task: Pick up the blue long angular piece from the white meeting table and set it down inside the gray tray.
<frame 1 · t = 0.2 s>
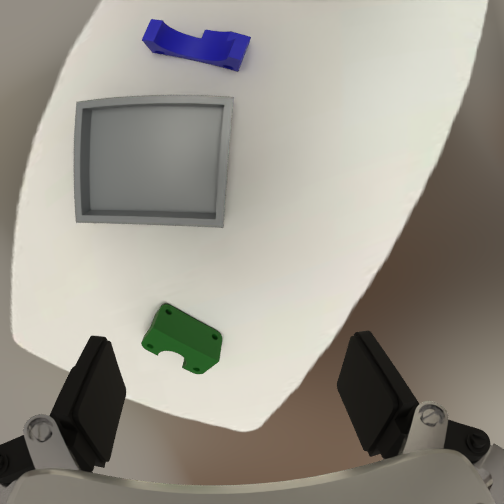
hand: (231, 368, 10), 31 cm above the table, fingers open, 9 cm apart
clamp: (183, 330, 46), on the table
gray tray: (152, 158, 36), on the table
blue long angular piece: (200, 47, 31), on the table
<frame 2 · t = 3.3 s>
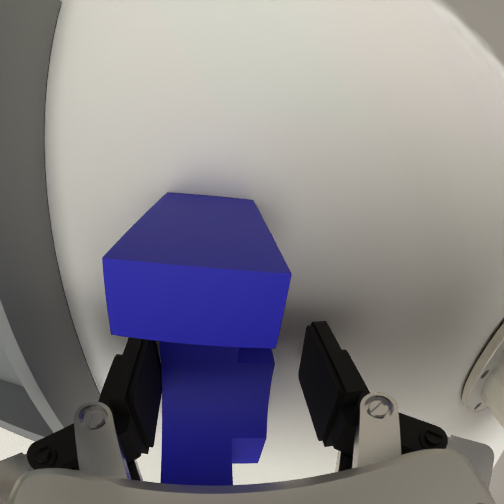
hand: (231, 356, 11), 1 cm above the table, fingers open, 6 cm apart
blue long angular piece: (217, 335, 12), on the table, touching gripper
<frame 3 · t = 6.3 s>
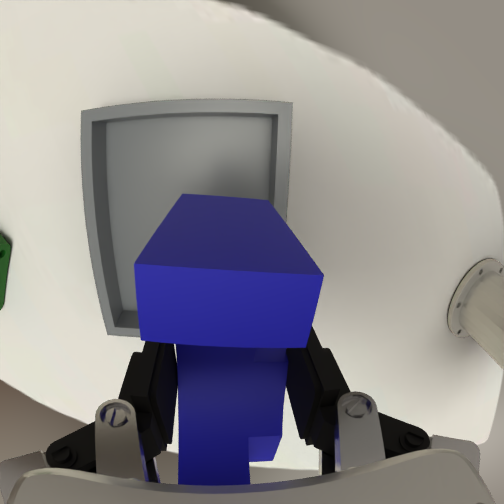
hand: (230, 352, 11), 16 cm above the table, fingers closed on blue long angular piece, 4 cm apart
gray tray: (186, 219, 25), on the table
blue long angular piece: (232, 335, 12), point 15 cm above the table, touching gripper
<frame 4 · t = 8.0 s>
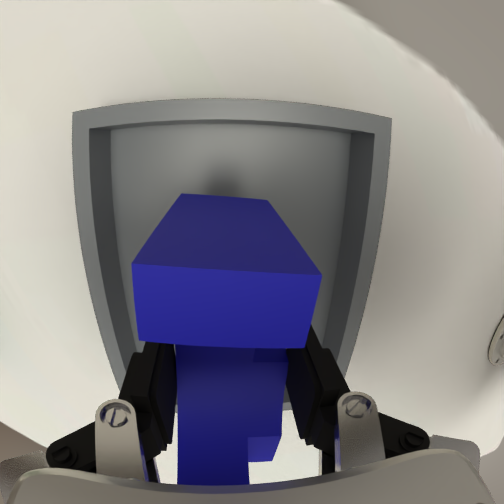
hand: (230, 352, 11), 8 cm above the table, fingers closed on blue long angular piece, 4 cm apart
gray tray: (228, 267, 19), on the table
blue long angular piece: (231, 335, 12), point 7 cm above the table, touching gripper
when the fingers open (3 cm above the table, at t = 9.3 s): blue long angular piece stays where it is, resting on gray tray.
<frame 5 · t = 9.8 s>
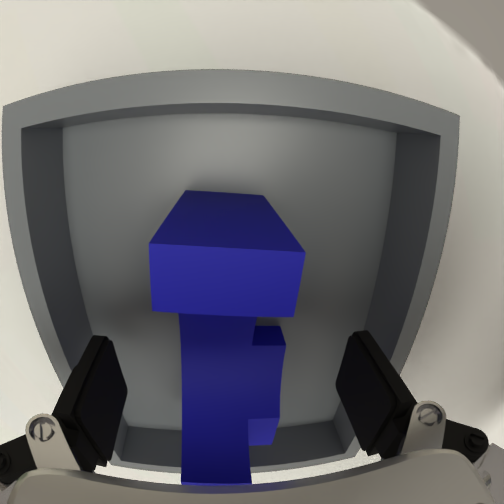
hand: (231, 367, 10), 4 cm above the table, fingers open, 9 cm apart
gray tray: (228, 312, 14), on the table
blue long angular piece: (232, 322, 13), point 1 cm above the table, touching gray tray
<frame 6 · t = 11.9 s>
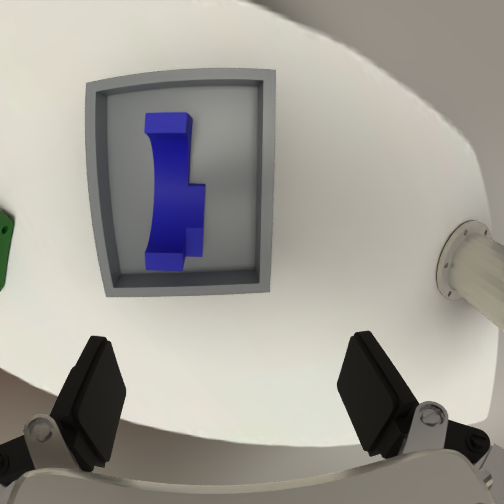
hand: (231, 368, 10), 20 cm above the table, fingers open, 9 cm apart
gray tray: (181, 181, 27), on the table
blue long angular piece: (181, 182, 26), point 1 cm above the table, touching gray tray
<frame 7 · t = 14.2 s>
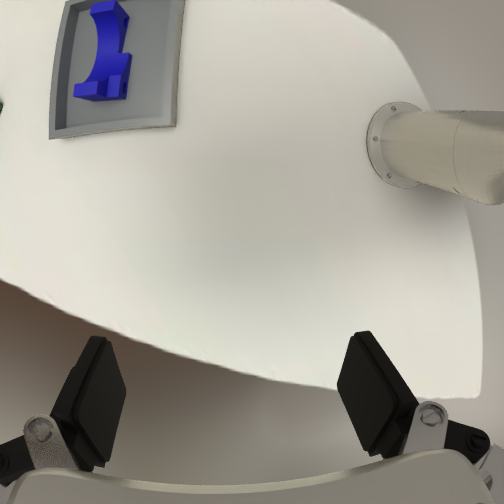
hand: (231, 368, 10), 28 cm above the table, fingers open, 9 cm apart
gray tray: (119, 58, 28), on the table
blue long angular piece: (116, 57, 27), point 1 cm above the table, touching gray tray
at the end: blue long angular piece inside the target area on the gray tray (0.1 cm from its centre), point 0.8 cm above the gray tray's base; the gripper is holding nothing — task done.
